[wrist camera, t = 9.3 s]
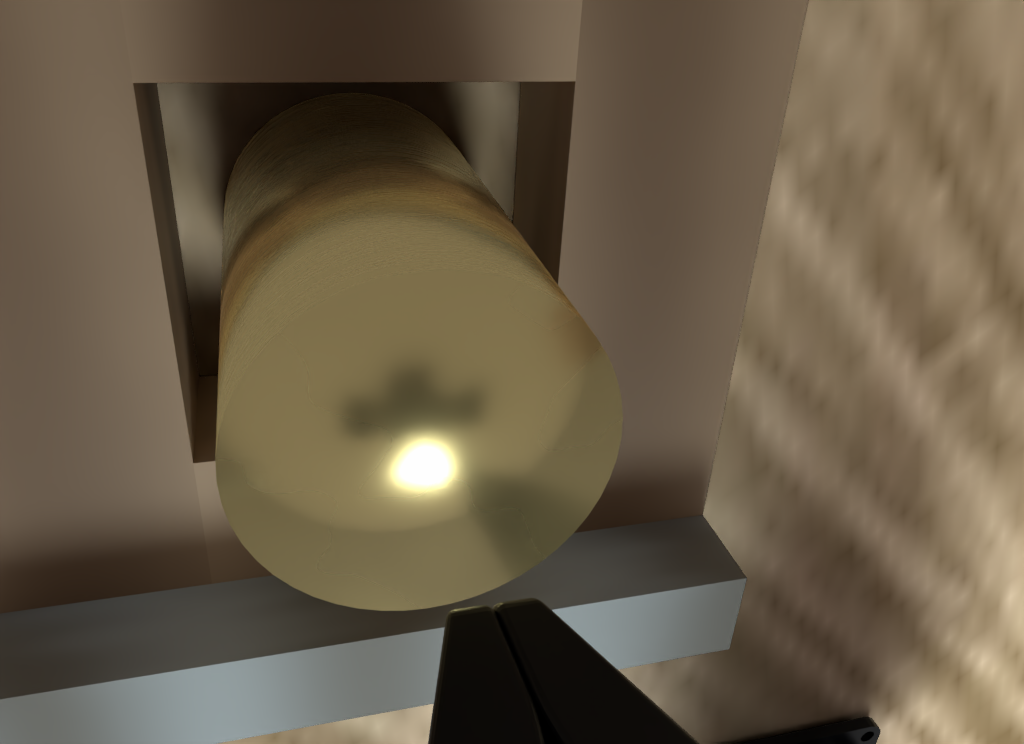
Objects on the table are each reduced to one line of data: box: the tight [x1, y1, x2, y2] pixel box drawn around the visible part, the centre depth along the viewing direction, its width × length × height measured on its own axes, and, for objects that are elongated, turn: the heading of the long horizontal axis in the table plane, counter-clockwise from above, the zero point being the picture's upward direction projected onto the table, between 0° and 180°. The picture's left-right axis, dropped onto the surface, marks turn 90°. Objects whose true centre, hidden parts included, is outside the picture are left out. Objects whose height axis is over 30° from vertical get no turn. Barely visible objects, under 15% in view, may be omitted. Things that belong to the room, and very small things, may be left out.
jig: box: [0, 0, 809, 744], centre depth 15 cm, size 14×14×5 cm
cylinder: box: [215, 93, 623, 611], centre depth 14 cm, size 5×5×8 cm
